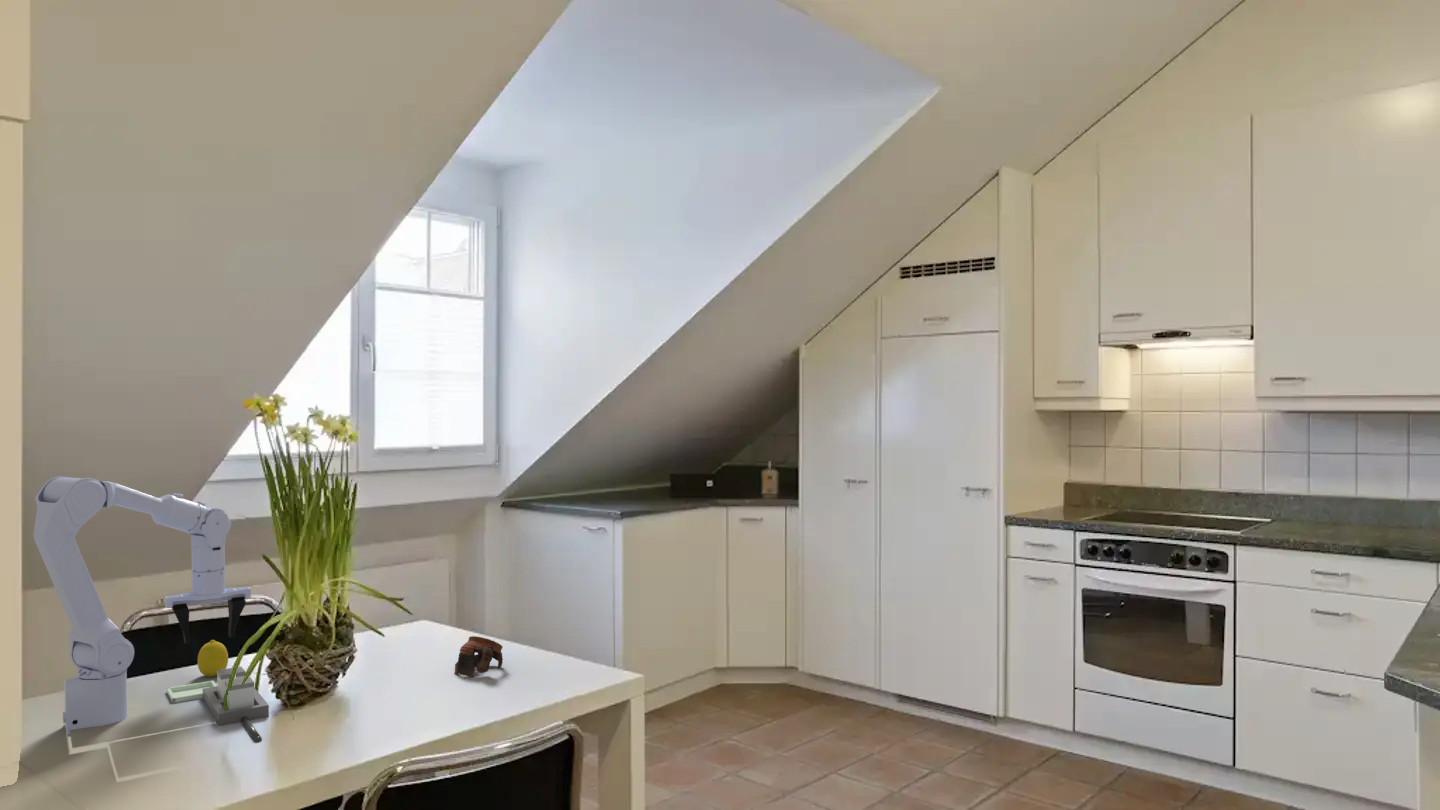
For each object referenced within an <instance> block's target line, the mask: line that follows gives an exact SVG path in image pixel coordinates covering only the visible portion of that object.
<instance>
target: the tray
mask: <svg viewBox="0 0 1440 810" xmlns="http://www.w3.org/2000/svg"><path fill="white" fill-rule="evenodd" d="M216 686H218V684H217V683H216V682H215V680H207V681H202V682H201V681H200V682H196V683H191V684H190V683H189V684H184V685H177V686H171V687H167V688H166V694H167V695H168V698H169V699H170V701H171V703H172V704H175V703H180V702H187V701H192V700H198V699H203V689H204V688H210V687H216Z"/></svg>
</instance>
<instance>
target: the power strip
mask: <svg viewBox="0 0 1440 810" xmlns="http://www.w3.org/2000/svg"><path fill="white" fill-rule="evenodd" d="M202 699H203V701H204V702H205V705H206V706H207V707H208V709H209V711H210V713H211V714H212V716H213V717H214V719H215V722H216V724H217V725H218V727H219V726H226V725H231V724H237V723H241V725H242V726H243V728H244V729H245V730H246V732H247V734H248V735H249V737H250V738H251V740H253V742H254V743H259V742H261V741H263V738H262V737H261V735H260V733H259V732H258V730H257V729H256V728H255V726H254V725H253V724H252V723H251V720H252V721H253V720H258V719H263V718H264V719H265V718H267V717H270V715H269V713H270V711H269V709H270V706H269V703H268V702H267V701H266V700H265V699H264V697H263V696H262V695H261V694H260V692H259V691H258V690H257V689H256V688H255V687H254V706H249V707H244V708H238V709H233V710H227V711H225V709H224V708H223V702H224V698H222V699H218V685H217V686H216V687H210V688H204V689H203V698H202Z"/></svg>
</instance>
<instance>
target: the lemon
mask: <svg viewBox="0 0 1440 810" xmlns="http://www.w3.org/2000/svg"><path fill="white" fill-rule="evenodd" d="M228 663H229V652H228V650H227V648H226V646H225V645H224V644H223V643H221V642H219V641H216V640H215V639H211V640H210V641H209V642H207V643H204V644H203V646H202V647H201V648H200V650H199V652H198V654H197V668H198V670H199V672H200V673H201V674H202V675H203V676H205V677H208V678H215V677H217V670H221V669H227V666H228Z"/></svg>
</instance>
